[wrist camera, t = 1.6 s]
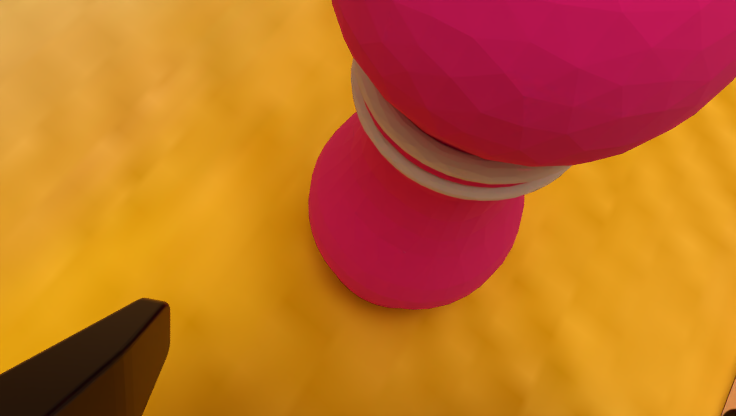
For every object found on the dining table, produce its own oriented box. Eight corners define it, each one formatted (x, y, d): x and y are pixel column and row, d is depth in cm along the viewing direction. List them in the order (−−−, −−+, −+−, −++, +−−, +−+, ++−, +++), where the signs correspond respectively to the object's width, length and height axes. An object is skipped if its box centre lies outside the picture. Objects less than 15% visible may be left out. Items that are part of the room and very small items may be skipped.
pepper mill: (384, 126, 24) (615, -843, 5) (512, 226, 23) (1432, -492, 4) (275, 243, 22) (-64, -622, 3) (410, 358, 21) (1280, 225, 2)
